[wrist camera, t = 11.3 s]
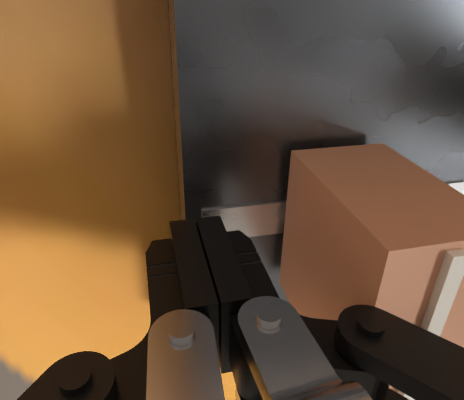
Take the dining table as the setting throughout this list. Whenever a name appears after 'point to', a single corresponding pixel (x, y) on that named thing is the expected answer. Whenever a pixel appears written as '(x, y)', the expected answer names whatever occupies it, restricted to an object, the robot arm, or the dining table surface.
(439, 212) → the fader terracotta
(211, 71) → the console board
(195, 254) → the robot arm
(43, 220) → the dining table surface
